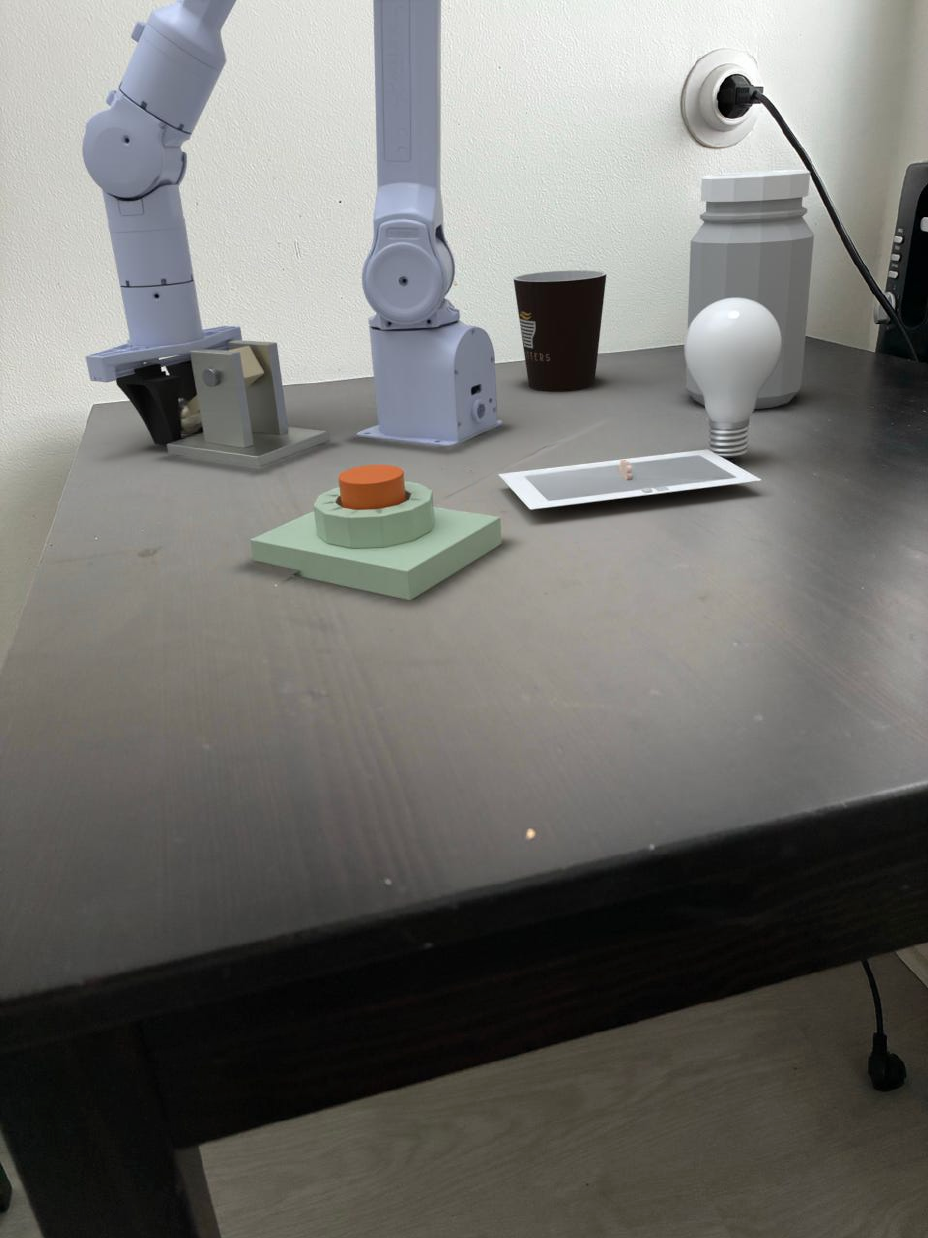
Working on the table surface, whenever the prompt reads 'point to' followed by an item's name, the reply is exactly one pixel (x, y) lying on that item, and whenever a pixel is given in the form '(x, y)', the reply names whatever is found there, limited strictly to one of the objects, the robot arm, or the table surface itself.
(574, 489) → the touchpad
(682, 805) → the table surface
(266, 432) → the bracket
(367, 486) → the button
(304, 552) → the button box
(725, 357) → the lightbulb
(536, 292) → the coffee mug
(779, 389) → the jar
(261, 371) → the lever
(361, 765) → the table surface
